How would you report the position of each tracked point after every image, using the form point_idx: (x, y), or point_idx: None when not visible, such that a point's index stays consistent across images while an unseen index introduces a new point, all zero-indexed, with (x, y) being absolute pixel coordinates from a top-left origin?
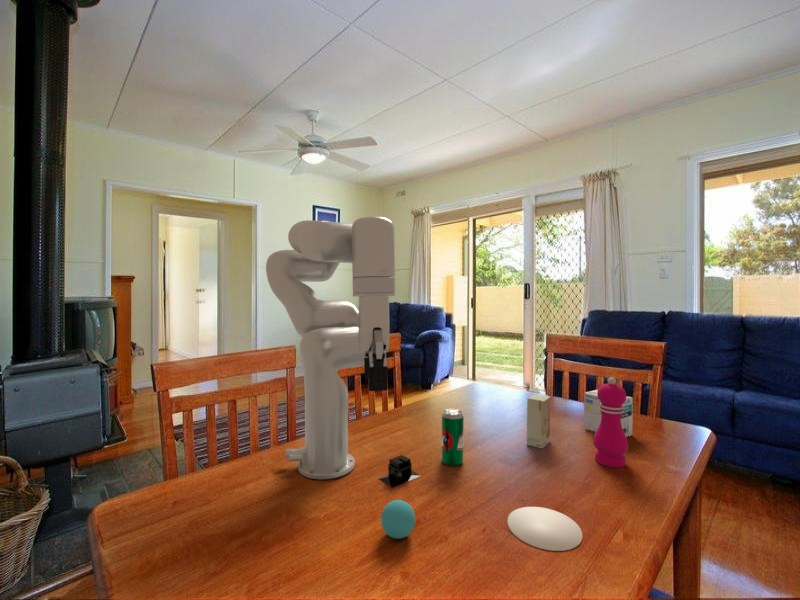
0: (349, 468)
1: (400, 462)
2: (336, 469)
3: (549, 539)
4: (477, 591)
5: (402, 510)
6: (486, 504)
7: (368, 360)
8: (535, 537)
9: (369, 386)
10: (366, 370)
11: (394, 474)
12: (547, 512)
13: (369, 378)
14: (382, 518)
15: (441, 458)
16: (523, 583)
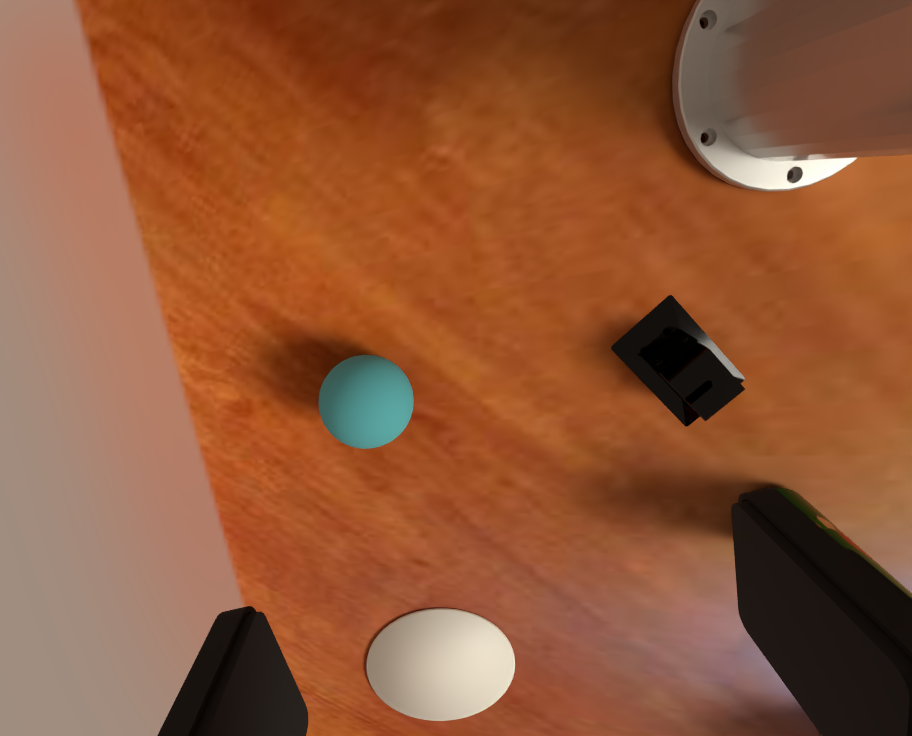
0: (731, 181)
1: (681, 389)
2: (722, 128)
3: (397, 668)
4: (228, 535)
5: (337, 430)
6: (525, 577)
7: (882, 695)
8: (400, 647)
9: (209, 644)
10: (785, 564)
11: (661, 356)
12: (493, 683)
13: (176, 716)
14: (342, 366)
15: (779, 490)
16: (267, 606)
